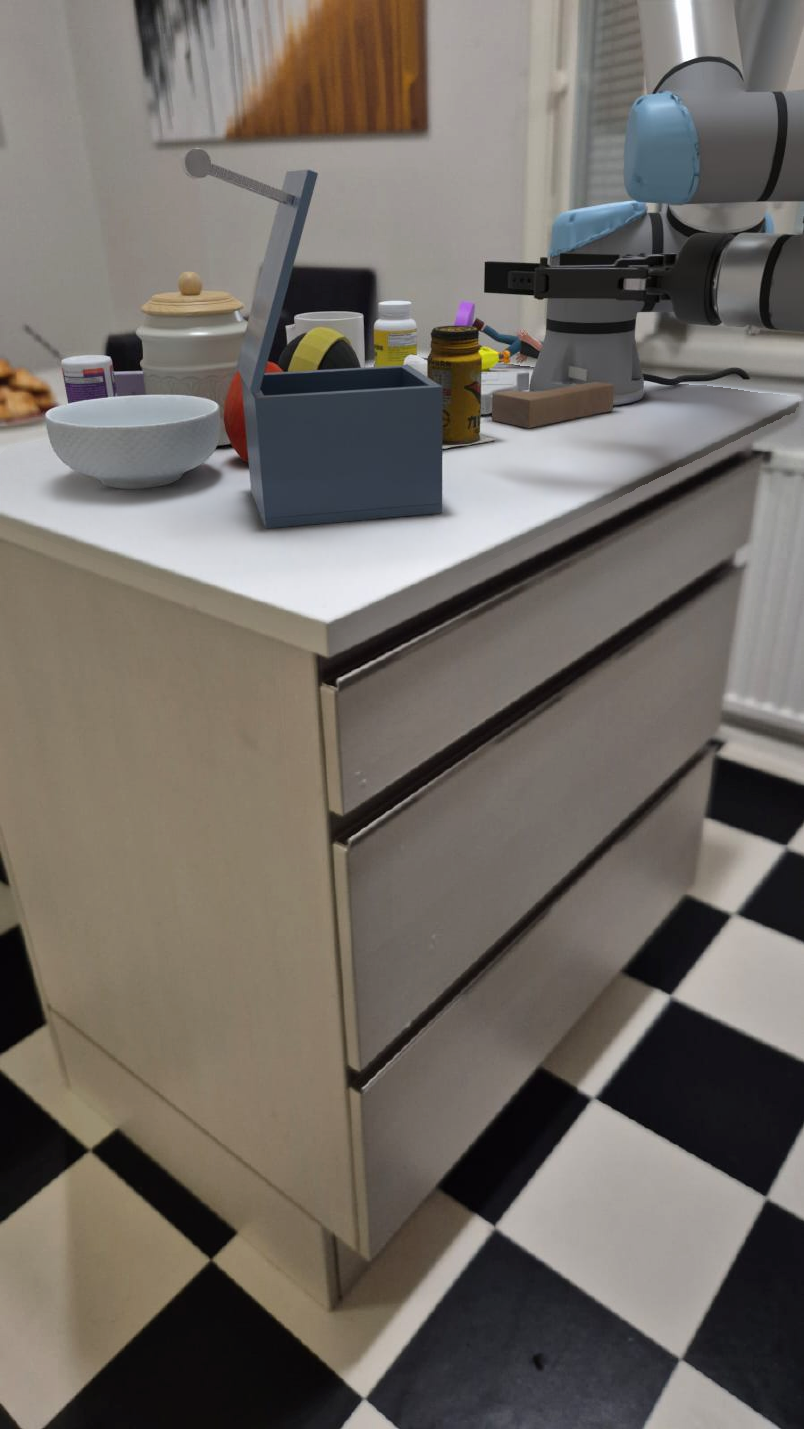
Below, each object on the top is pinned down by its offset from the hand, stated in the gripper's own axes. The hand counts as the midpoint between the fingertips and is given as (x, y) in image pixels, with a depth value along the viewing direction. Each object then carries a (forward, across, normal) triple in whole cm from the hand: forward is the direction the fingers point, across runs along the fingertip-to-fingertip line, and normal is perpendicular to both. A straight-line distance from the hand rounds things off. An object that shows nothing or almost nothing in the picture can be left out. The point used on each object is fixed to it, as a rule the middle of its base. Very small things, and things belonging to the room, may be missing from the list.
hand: (525, 271), depth 99 cm
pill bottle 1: (+40, -26, -8) cm, 48 cm away
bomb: (+33, -3, -11) cm, 35 cm away
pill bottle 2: (+37, +24, -18) cm, 48 cm away
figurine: (+40, +42, -13) cm, 59 cm away
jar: (+34, -15, -18) cm, 41 cm away
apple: (+20, -19, -18) cm, 33 cm away
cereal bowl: (+25, -31, -18) cm, 44 cm away
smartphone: (+47, -18, -15) cm, 53 cm away
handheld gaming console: (+13, +13, -16) cm, 25 cm away
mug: (+36, +8, -18) cm, 41 cm away
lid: (+5, -29, +1) cm, 30 cm away
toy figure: (+30, +42, -16) cm, 54 cm away
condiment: (+10, 0, -18) cm, 21 cm away
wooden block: (+8, +10, -16) cm, 21 cm away
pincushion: (+25, +17, -15) cm, 34 cm away
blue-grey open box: (+3, -26, -18) cm, 31 cm away
